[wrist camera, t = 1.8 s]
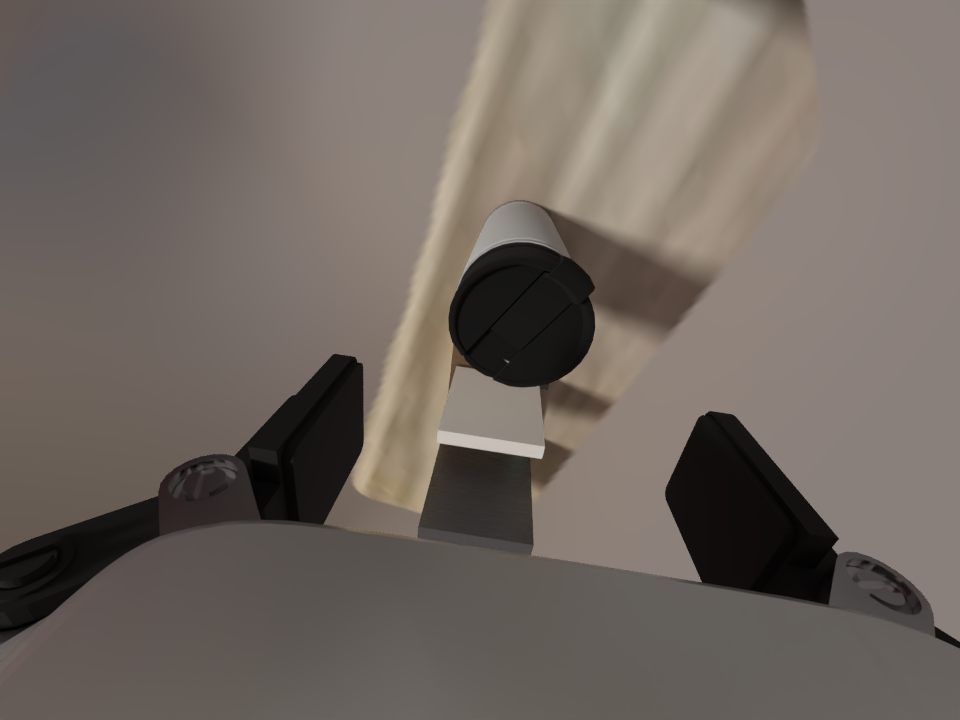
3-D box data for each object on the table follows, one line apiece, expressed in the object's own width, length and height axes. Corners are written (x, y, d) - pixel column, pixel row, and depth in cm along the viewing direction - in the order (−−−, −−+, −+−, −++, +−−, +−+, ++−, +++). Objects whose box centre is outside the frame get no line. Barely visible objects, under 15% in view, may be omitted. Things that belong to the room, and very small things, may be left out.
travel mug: (574, 232, 33) (639, 323, 16) (520, 289, 36) (523, 423, 18) (518, 179, 32) (521, 214, 14) (466, 243, 35) (414, 339, 17)
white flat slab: (456, 366, 38) (437, 430, 30) (549, 380, 38) (558, 448, 30) (454, 376, 39) (436, 442, 30) (546, 390, 39) (555, 461, 30)
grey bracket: (455, 336, 39) (426, 423, 26) (548, 350, 39) (562, 444, 26) (443, 448, 45) (415, 559, 33) (522, 460, 45) (524, 577, 33)
